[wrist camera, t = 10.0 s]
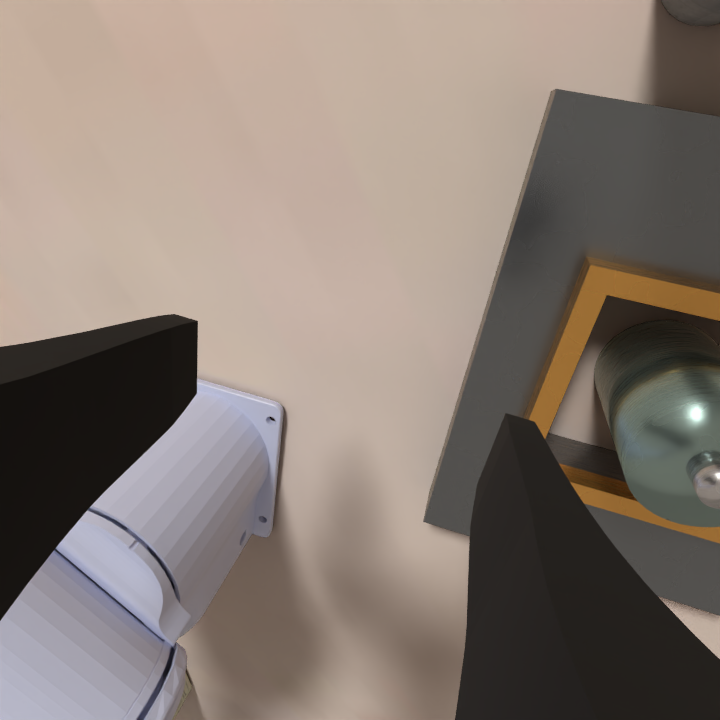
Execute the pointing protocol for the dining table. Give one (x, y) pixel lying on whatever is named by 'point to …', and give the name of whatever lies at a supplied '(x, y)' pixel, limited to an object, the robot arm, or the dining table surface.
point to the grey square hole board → (593, 310)
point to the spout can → (665, 417)
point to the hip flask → (694, 11)
